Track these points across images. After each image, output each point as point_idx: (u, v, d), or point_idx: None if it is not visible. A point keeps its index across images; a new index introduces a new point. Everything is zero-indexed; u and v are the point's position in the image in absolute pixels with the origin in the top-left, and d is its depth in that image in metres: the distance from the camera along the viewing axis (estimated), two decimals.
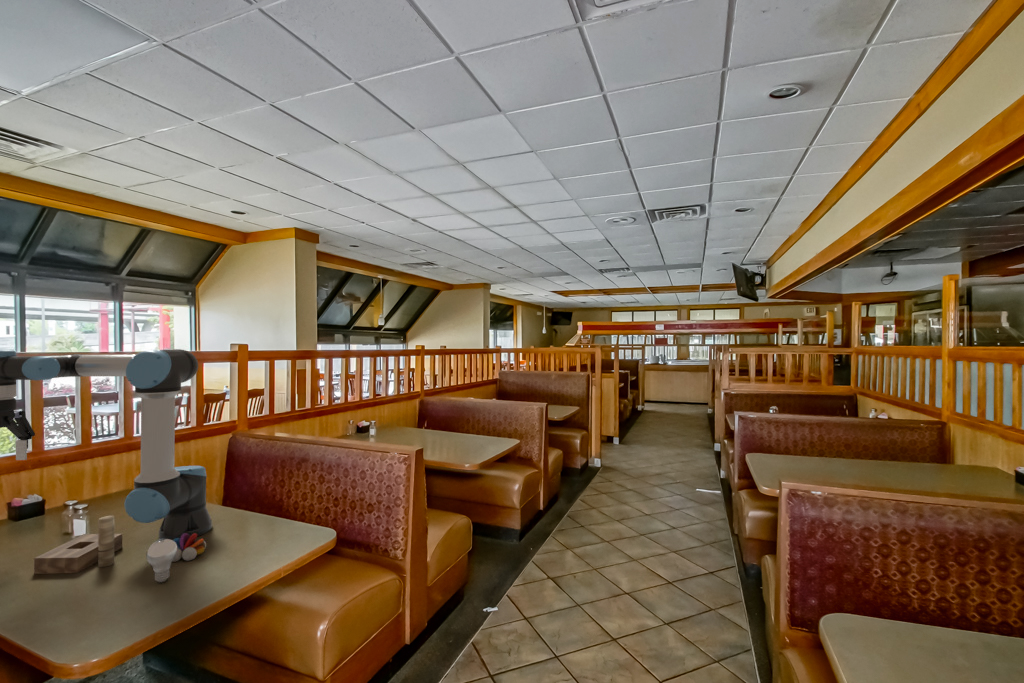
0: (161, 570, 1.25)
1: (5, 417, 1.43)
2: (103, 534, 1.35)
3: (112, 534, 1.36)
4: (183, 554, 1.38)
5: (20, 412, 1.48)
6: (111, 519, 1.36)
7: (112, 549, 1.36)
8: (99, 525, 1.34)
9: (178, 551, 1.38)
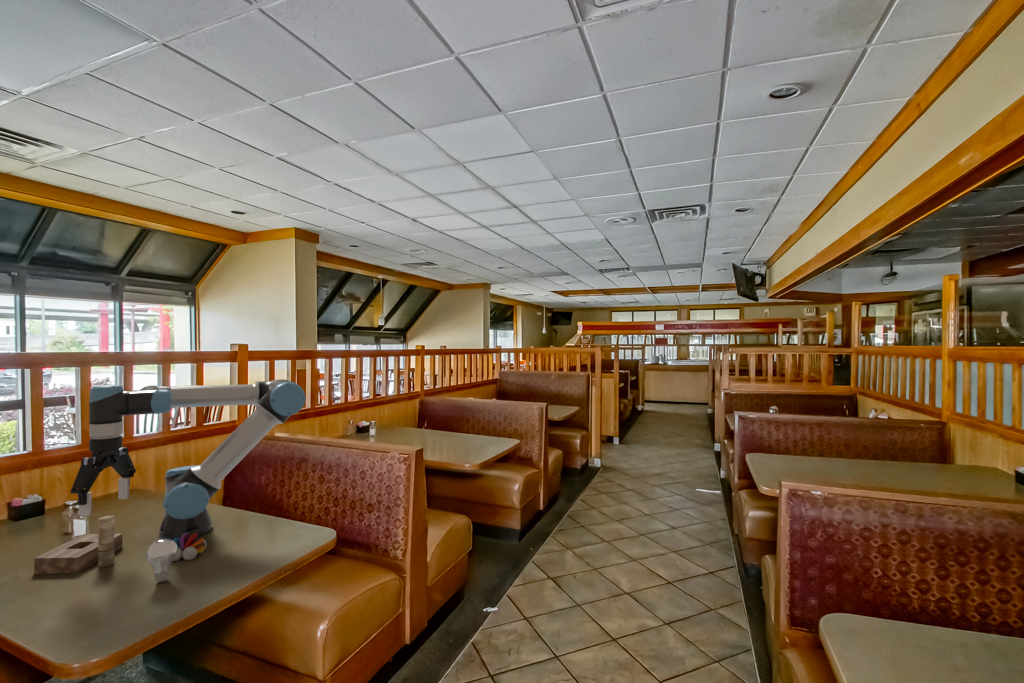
0: (161, 570, 1.25)
1: (112, 455, 1.37)
2: (103, 534, 1.35)
3: (112, 534, 1.36)
4: (183, 553, 1.38)
5: (124, 449, 1.42)
6: (111, 519, 1.36)
7: (112, 549, 1.36)
8: (99, 525, 1.34)
9: (178, 551, 1.38)
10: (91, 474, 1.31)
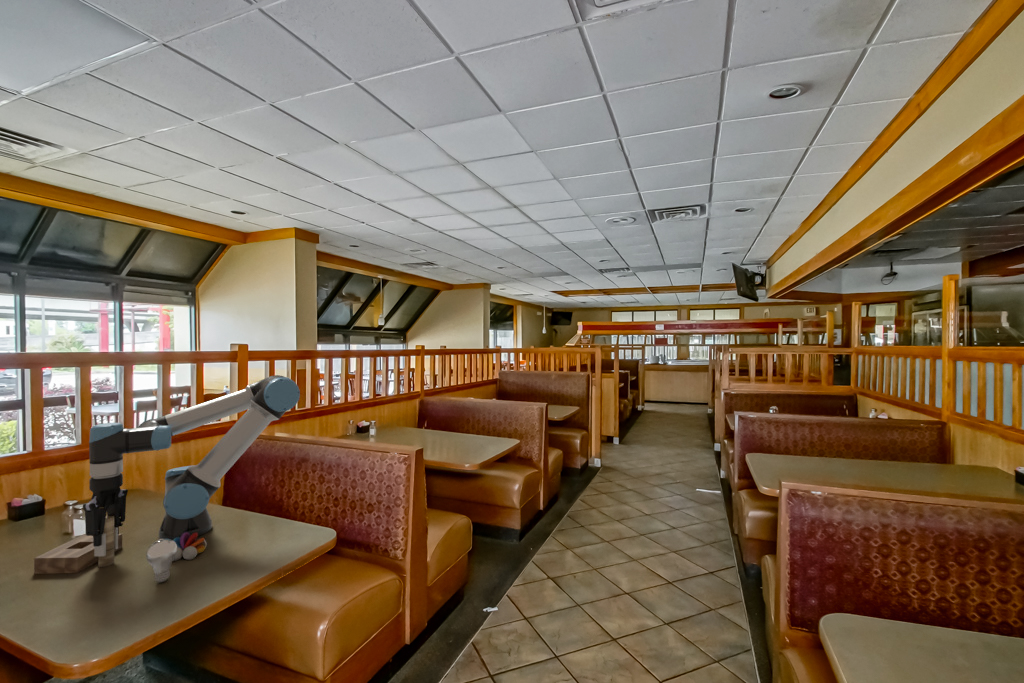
0: (161, 570, 1.25)
1: (113, 490, 1.37)
2: None
3: (112, 534, 1.36)
4: (183, 553, 1.38)
5: (124, 490, 1.42)
6: (111, 519, 1.36)
7: (112, 549, 1.36)
8: None
9: (179, 550, 1.39)
10: (99, 516, 1.33)
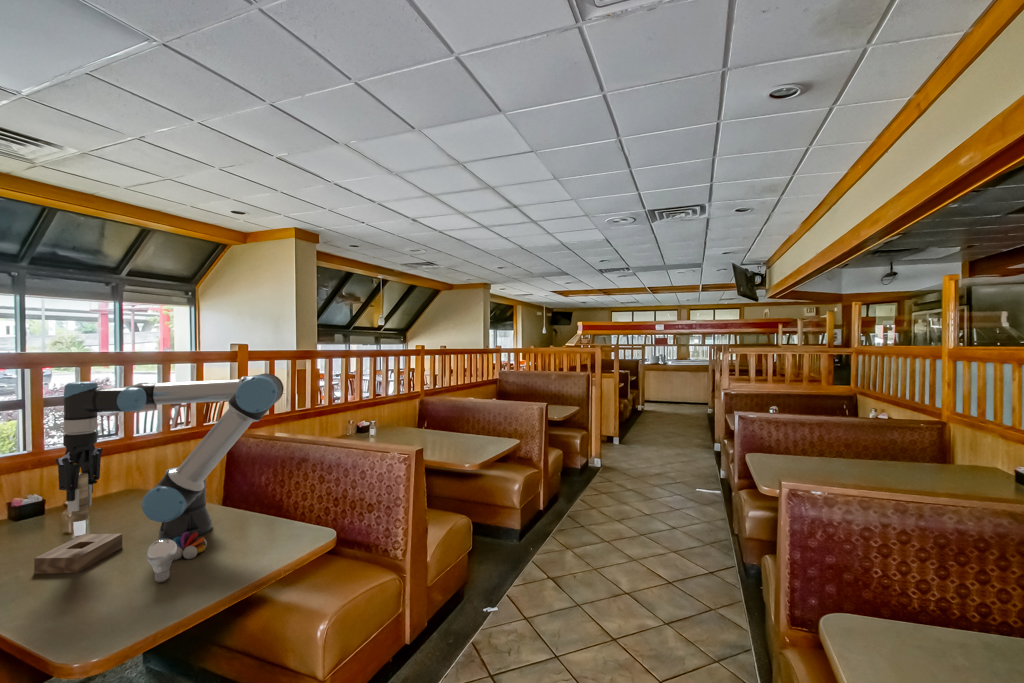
0: (161, 570, 1.25)
1: (87, 447, 1.39)
2: None
3: (85, 490, 1.39)
4: (184, 553, 1.38)
5: (99, 449, 1.44)
6: (85, 475, 1.38)
7: (85, 505, 1.39)
8: None
9: (179, 550, 1.39)
10: (72, 471, 1.36)
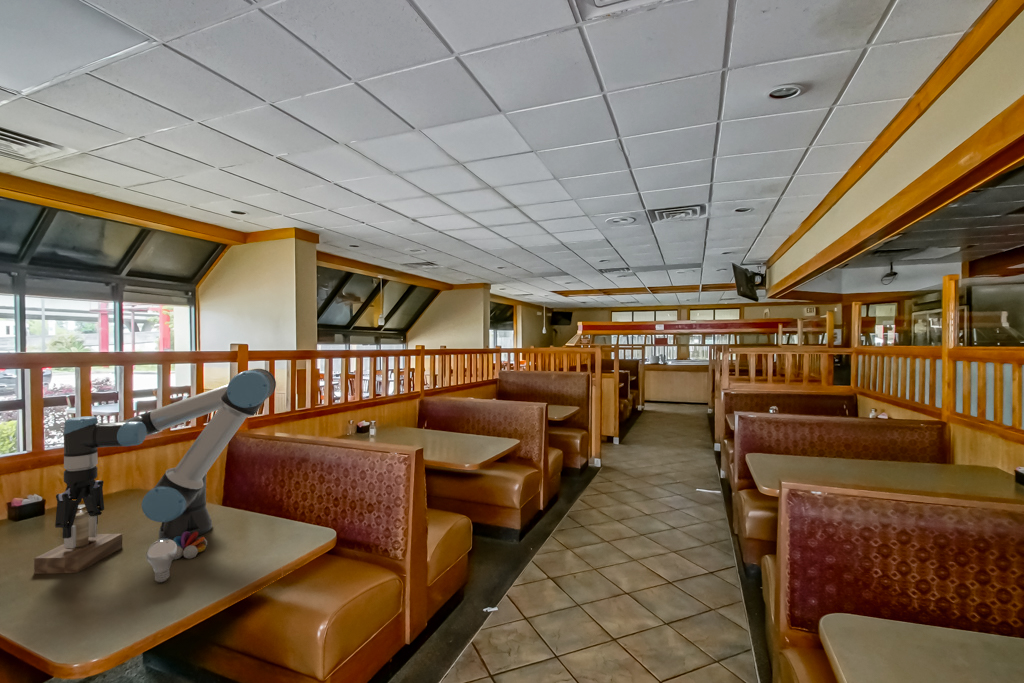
0: (161, 570, 1.25)
1: (87, 483, 1.39)
2: (77, 531, 1.37)
3: (86, 530, 1.39)
4: (184, 552, 1.39)
5: (99, 482, 1.44)
6: (85, 516, 1.38)
7: (86, 545, 1.39)
8: None
9: (179, 549, 1.39)
10: (70, 508, 1.35)
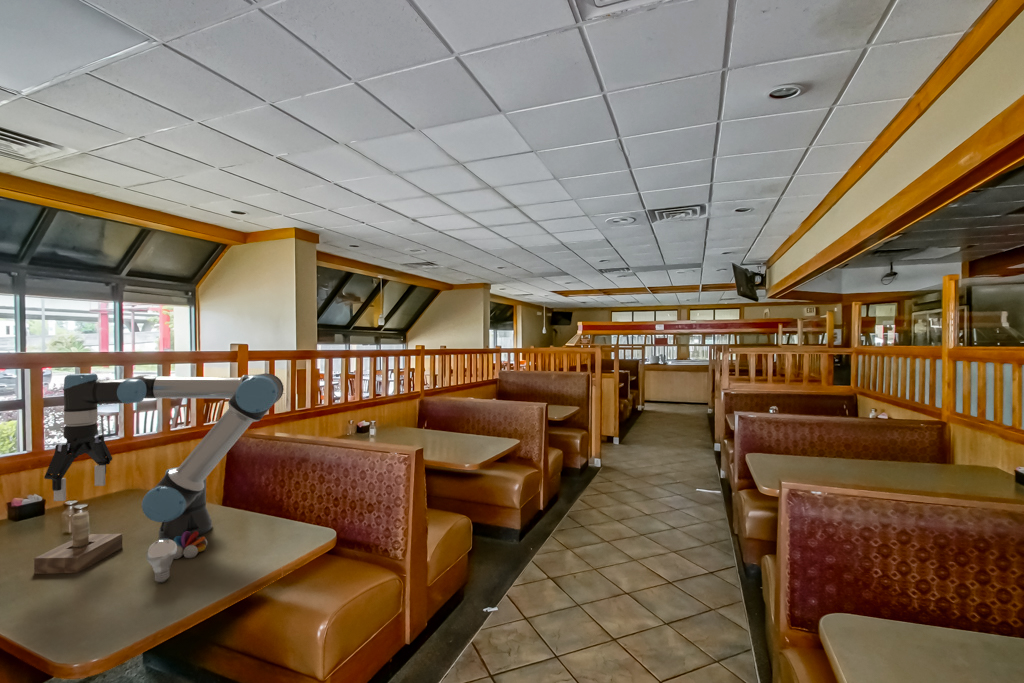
0: (161, 570, 1.25)
1: (87, 443, 1.39)
2: (77, 531, 1.37)
3: (86, 530, 1.39)
4: (184, 552, 1.39)
5: (99, 437, 1.44)
6: (85, 516, 1.38)
7: (86, 545, 1.39)
8: (73, 522, 1.37)
9: (179, 549, 1.39)
10: (65, 460, 1.33)
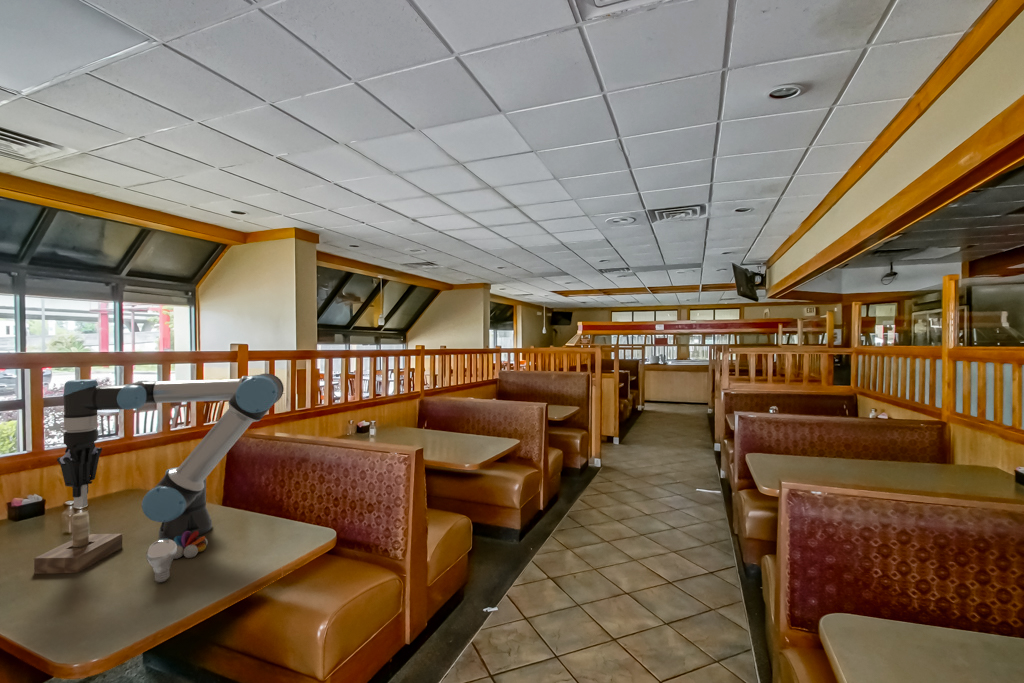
0: (161, 570, 1.25)
1: (88, 443, 1.40)
2: (77, 531, 1.37)
3: (86, 530, 1.39)
4: (184, 551, 1.39)
5: (98, 448, 1.44)
6: (85, 516, 1.38)
7: (86, 545, 1.39)
8: (73, 522, 1.37)
9: (180, 548, 1.40)
10: (75, 469, 1.37)
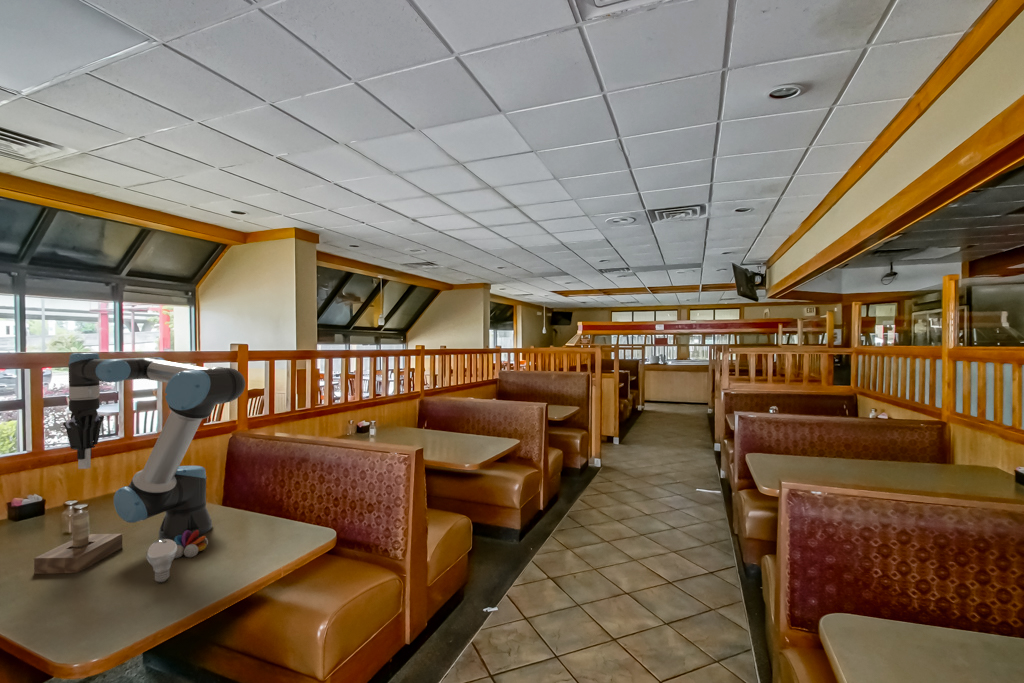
0: (161, 570, 1.25)
1: (91, 411, 1.53)
2: (77, 531, 1.37)
3: (86, 530, 1.39)
4: (185, 551, 1.40)
5: (100, 416, 1.57)
6: (85, 516, 1.38)
7: (86, 545, 1.39)
8: (73, 522, 1.37)
9: (180, 548, 1.40)
10: (79, 433, 1.50)
